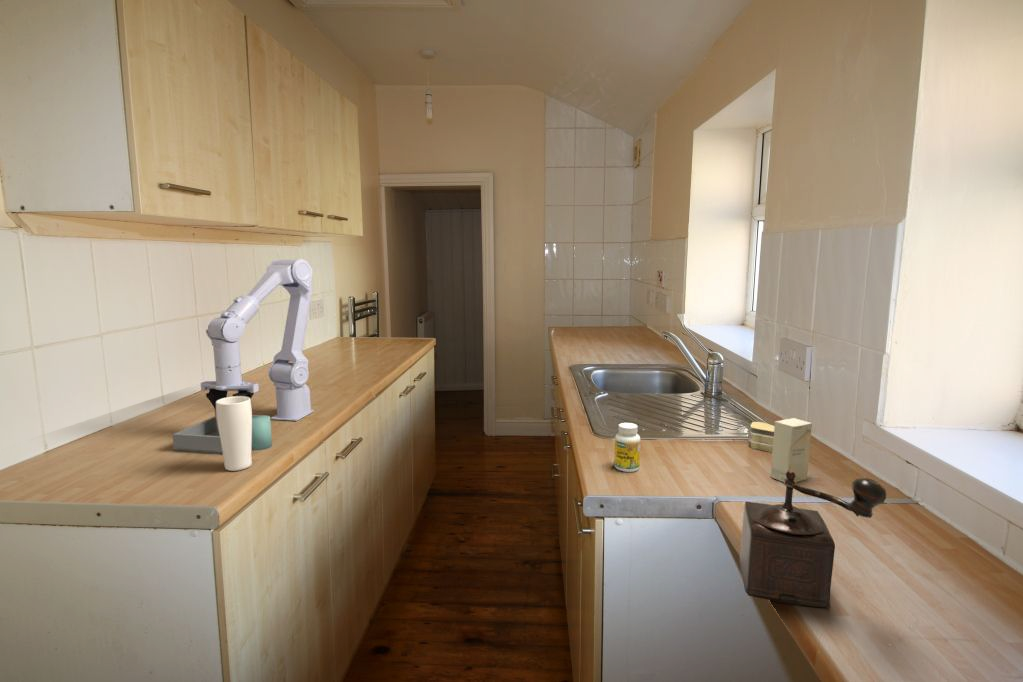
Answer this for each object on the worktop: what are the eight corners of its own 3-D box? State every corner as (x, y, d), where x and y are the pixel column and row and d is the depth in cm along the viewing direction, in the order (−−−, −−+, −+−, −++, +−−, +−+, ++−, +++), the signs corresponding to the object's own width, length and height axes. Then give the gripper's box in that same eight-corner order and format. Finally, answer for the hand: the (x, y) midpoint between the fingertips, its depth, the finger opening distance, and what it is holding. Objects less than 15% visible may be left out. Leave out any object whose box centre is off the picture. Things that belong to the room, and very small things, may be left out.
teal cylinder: (257, 442, 135) (255, 414, 134) (276, 443, 134) (274, 415, 133) (244, 449, 130) (242, 421, 129) (264, 450, 129) (262, 422, 128)
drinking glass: (262, 461, 122) (257, 396, 120) (244, 474, 116) (239, 404, 113) (233, 460, 123) (227, 395, 121) (213, 472, 116) (207, 403, 114)
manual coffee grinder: (745, 599, 75) (755, 473, 72) (738, 556, 85) (746, 445, 82) (877, 621, 70) (893, 488, 67) (852, 574, 81) (865, 456, 78)
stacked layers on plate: (791, 449, 132) (793, 427, 132) (777, 458, 126) (779, 435, 125) (749, 439, 140) (751, 418, 139) (734, 447, 133) (735, 426, 132)
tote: (223, 427, 146) (222, 413, 145) (269, 430, 144) (268, 415, 143) (174, 450, 129) (172, 434, 128) (225, 454, 127) (223, 437, 126)
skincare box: (788, 485, 111) (793, 427, 109) (768, 477, 115) (773, 421, 113) (808, 479, 114) (813, 422, 112) (788, 471, 118) (793, 416, 116)
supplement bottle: (641, 465, 121) (643, 423, 120) (636, 474, 116) (638, 430, 115) (617, 461, 123) (618, 420, 122) (611, 470, 119) (613, 427, 117)
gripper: (189, 368, 134) (194, 422, 136) (244, 370, 132) (248, 425, 134) (210, 362, 141) (214, 413, 143) (262, 364, 139) (265, 416, 141)
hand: (232, 418), depth 139 cm, fingers closed on walnut cube, 5 cm apart
